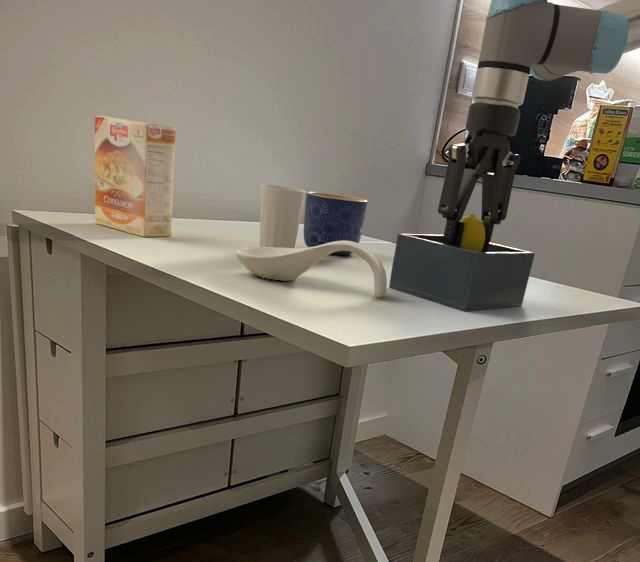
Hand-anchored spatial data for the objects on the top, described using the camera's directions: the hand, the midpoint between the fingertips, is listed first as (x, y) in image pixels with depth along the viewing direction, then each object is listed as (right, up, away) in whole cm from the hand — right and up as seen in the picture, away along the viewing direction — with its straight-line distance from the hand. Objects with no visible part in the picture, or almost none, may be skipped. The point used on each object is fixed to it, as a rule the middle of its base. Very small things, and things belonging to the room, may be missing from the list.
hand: (462, 263), depth 107 cm
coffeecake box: (-59, +12, +23) cm, 65 cm away
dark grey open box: (-1, -5, +2) cm, 5 cm away
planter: (-21, +10, +31) cm, 38 cm away
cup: (-31, +5, +16) cm, 35 cm away
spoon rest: (-25, -4, -4) cm, 25 cm away
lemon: (0, 0, 0) cm, 1 cm away
